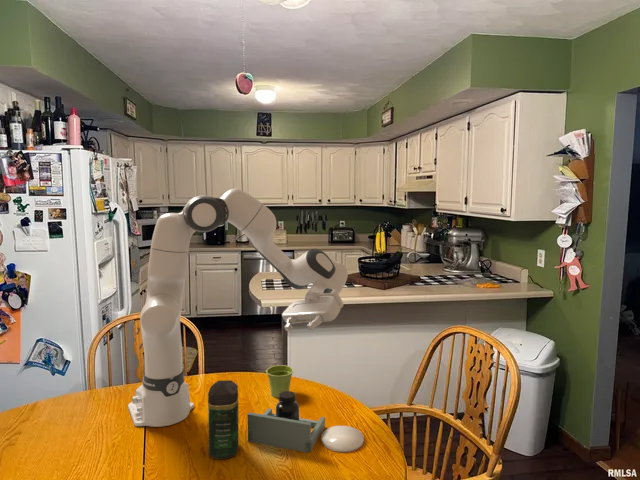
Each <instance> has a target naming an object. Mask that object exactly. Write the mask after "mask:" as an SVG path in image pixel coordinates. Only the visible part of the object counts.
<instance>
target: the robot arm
mask: <svg viewBox="0 0 640 480" xmlns="http://www.w3.org/2000/svg"><path fill="white" fill-rule="evenodd" d="M225 222H227V223H229V224H231V225H232V226H234V227H235V228H236V229H238V230H239V231H240V232H241V233H243V234H244V235H245V236H246V237H247V238H248V239H249V240H250V242H251V245H252V247H253V249H255V251H256V252H257V253H258V254H259V255H260V256H261V257H262V258H263V259H264V260H265V261H266V262H267V263H268V264H269V265H271V267H272V268H274V269H275V270H276V271H277V272H278V273H279V274H280V276H281V277H282V278H283V281H285V283H286V284H287V285H288V286H289V287H291V288H293V289H295V290H304V288H306V287H307V286H309V285H310V284H311V283H312V285H311V287H310V288H309V290H308V291H307V292H306V293H305V294H304V300H295V301H293V302H291V303H290V304H289V306H287V307H286V309H285V310H283V312H282V313H281V317H282V319H283V321H284V322H285V323H286V324H285V325H284V329H285V332H291V331H292V329H294V328H293V327H294V326H293V325H294V324H298V323H299V324H302V323H303V324H304V323H308V324H307V325H306V327H307V329H308V330H309V331H314V330H315V328H317V327H318V326H319V325H321V324H322V323H324V322H332V321H334V320H335V319H337V317H338V315H339V314H340V312H341V309H342V308H343V307H344V302H343V300H342V298H341V296H340V293H341V292H342V290H343V289H344V287H345V285H346V284H347V283H346V282H347V281H348V278H349V277H348V274H349V272H348V269H347V268H346V266H345V264H343V263H342V262H340V261H336V260H333V259H331V258H330V256H328V254H326V253H325V251H323V250H321V249H318V248H311V249H309V250H307V251H306V252H304V253H303V254H301V255H300V256H298V257H297V258H296V259H293V258H290V257H289V256H288V255H287V254H286V253H285V252H284V251H283V250H282V249H280V247H278V246H277V245H276V243H275V239H274V235H275V233H276V229H277V219H276V216H275V214H274V213H273V211H272V210H270V208H269V207H268V206H265V205H264V204H263V203H262V202H261V201H259V200H258V199H257V198H255V197H254V196H252V195H251V194H249V193H247V192H246V191H244V190H242V189H240V188H237V187H234V188H230V189H228V190H227V191H226V192H224V193H223V194H222V196H220V197H212V196H211V195H207V194H198V195H195V196H192V197H191V198H190V199H189V200H188V201H187V202H186V204H185V205H184V207H183V208H182V209H181V210H180V212H168V213H164V214H161V215H160V216H159V217H158V218H157V220H156V223H155V226H154V230H153V233H152V237H151V245H150V251H149V260H148V267H147V268H148V269H147V286H146V288H147V289H146V300H145V304H144V305H143V307H142V309H141V311H140V315H139V320H140V329H141V338H142V344H143V351H144V374H143V377H142V384H141V385H139V387H137V388H136V390H135V395H133V396H132V397H131V402H130V403H128V405H127V406H128V407H127V408H128V411H129V414H130V417H131V419H132V422H133V425H134V426H135V427H152V428H153V427H154V428H155V427H156V428H157V427H161V428H162V427H166V426H171V425H174V424H177V423H180V422H182V421H183V420H185V419H186V418H188V417H189V415H190V411H191V410H192V409H194V407H195V406H194V402H191V400H190V399H191V398H190V389H189V384H188V383H187V382H185V376H186V375H185V370H184V368H183V367H184V366H183V344H182V343H183V342H182V334H181V333H182V332H181V314H182V310H183V309H182V308H183V302H184V293H185V283H186V276H187V269H188V267H187V266H188V261H189V253H190V252H189V250H190V243H191V238H192V236H193V234H194V233H196V232H198V233H208V232H212V231H213V230H216V229H217V228H218V227H220V226H221V225H222V224H224V223H225Z"/></svg>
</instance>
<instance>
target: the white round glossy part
mask: <svg viewBox="0 0 640 480" xmlns="http://www.w3.org/2000/svg"><path fill="white" fill-rule="evenodd" d="M320 436H321V438H320V440H321V443H322V445H323V446H324V447H325V448H327V449H329V450H331V451H333V452H337V453H338V452H339V453H350V452H354V451H357V450H359V449H360V448H361V447H362V446H363V445H364V441H365V439H364V438H365V437H364V434H363V432H362V431H361V430H359V429H357V428H355V427H352V426H349V425H333V426H331V427H327V428H326V429H325V430H323V431H322V433H321V435H320Z"/></svg>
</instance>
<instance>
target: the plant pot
mask: <svg viewBox="0 0 640 480" xmlns="http://www.w3.org/2000/svg"><path fill="white" fill-rule="evenodd" d="M265 372H266V375H267V377H268V382H269V388H270V394H271V396H272V397H273V398H277V399H279V394H280V393H281V392H284V391H290V386H291V379H292V376H293V373H294V368H293V367H292V366H290V365H283V364H282V365H280V364H279V365H273V366H270V367H268V368H267V369H266V370H265Z"/></svg>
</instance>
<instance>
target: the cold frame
mask: <svg viewBox="0 0 640 480" xmlns="http://www.w3.org/2000/svg"><path fill="white" fill-rule="evenodd" d="M325 420H326V417H323V416H320V418H319V419H318V420H313V419H309V418H308V419H307V418H301V417H299V421H298V420H292V419H286V418H280V417H276V413H273V409H272V408H270V407H269V408H267V409H266V410H265V412H264V413H263V414H261V413H256V412H248V413H247V442H249V443H254V444H259V445H264V446H270V447H275V448H280V449H285V450H291V451H297V452H301V453H307V454H310V453H311V451H312V450H313V448H314V447H315V445H316V442H317V441H318V439H319V437H320V436H321V435H322V433H323V432H324V429H325V426H326V421H325ZM312 428H313V429H312Z"/></svg>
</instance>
